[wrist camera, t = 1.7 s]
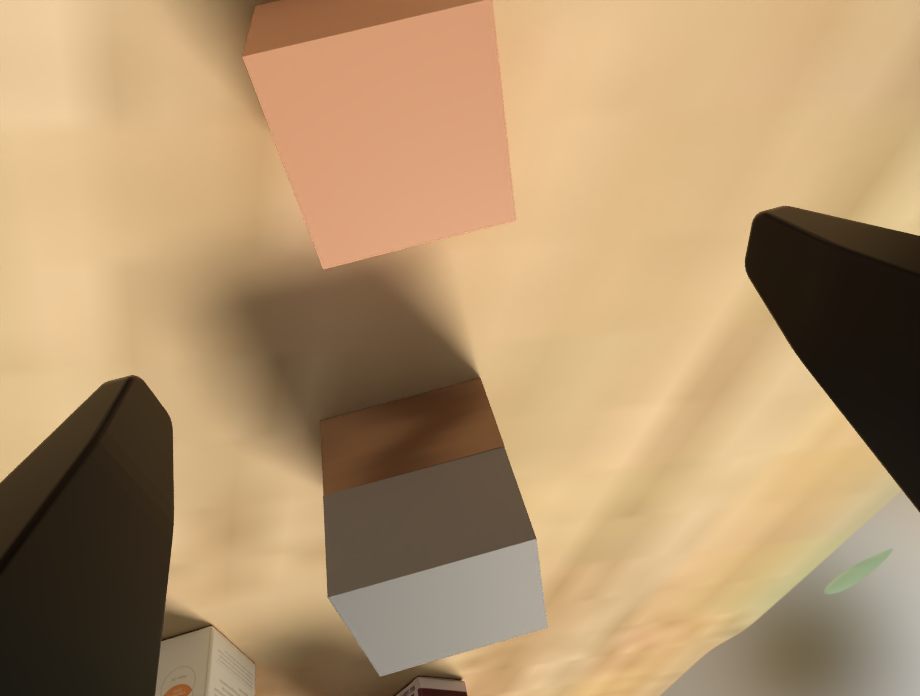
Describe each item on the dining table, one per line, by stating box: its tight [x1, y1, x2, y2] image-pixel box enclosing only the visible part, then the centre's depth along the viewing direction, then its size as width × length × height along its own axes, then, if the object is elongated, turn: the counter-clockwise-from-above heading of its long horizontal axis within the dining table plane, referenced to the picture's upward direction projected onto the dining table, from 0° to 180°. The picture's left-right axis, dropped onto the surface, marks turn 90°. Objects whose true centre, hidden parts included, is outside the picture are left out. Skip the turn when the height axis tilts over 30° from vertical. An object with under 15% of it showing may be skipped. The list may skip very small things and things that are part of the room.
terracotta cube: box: [242, 0, 516, 269], centre depth 15 cm, size 5×5×5 cm
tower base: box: [320, 378, 505, 495], centre depth 26 cm, size 7×7×4 cm
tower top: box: [323, 447, 548, 677], centre depth 23 cm, size 7×7×4 cm
